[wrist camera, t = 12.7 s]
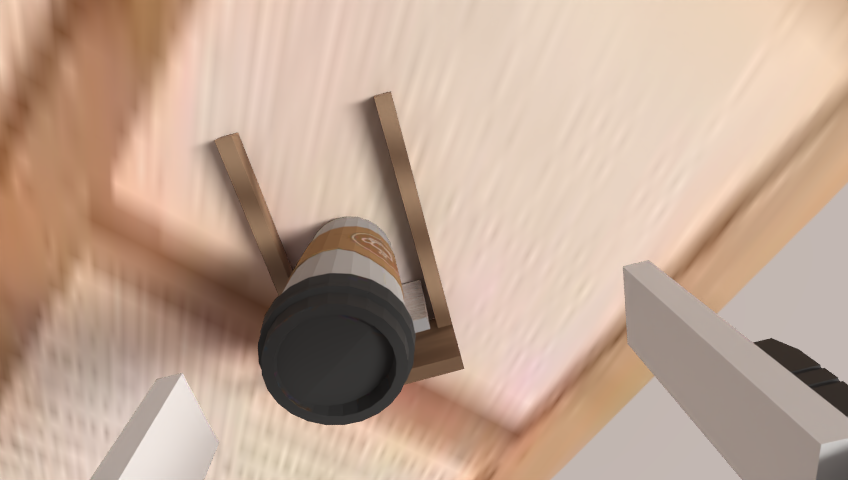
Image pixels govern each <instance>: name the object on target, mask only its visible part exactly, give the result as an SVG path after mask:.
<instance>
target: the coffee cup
mask: <svg viewBox="0 0 848 480" xmlns="http://www.w3.org/2000/svg"><path fill="white" fill-rule="evenodd" d="M415 338H416V334H415V330H414V325H413V321H412V318H411V316H410V314H409V312H408V311H407V309H406V307H405V303H404V293H403V289H402V284H401V280H400V276H399V272H398V268H397V264H396V260H395V256H394V254H393V252H392V248H391V244H390V241H389V239H388V238H387V236H386V234H385V233H384V232H383V231H382V230H381V229H380V228H379V227H378V226H377V225H375V224H374V223H372V222H370V221H369V220H366V219H362V218H359V217H343V218H338V219H335V220H333V221H331V222H329V223H327V224H325V225H324V226H323V227H322V228H321V229H320V230H319V231H318V232H317V234H316V235H315V237H314V238H313V240H312V242H311V243H310V244H309V245H308V247H307V249H306V250H305V252H304V253H303V255H302V257H301V258H300V260H299V262H298V263H297V265H296V267H295V269H294V270H293V272H292V274H291V275H290V277H289V279H288V281H287V285H286V287H285V289H284V291H283V292H282V294H281V295H280V296H278V297H277V298H276V299H275V300H274V302H273V304H272V305H271V307H270V308H269V310H268V311H267V313H266V314H265V318H264V321H263V325H262V329H261V335H260V339H259V342H258V356H259V364H260V367H261V369H262V376H263V379H264V381H265V384H266V387H267V389H268V391H269V392H270V394H271V395H272V396H273V397H274V399H275V400H276V401H277V403H278V404H280V405H281V406H282V407H283V408H285V409H286V410H287V411H289V412H290V413H291V414H293V415H295V416H298V417H300V418H302V419H304V420H307V421H310V422H315V423H319V424H324V425H346V424H350V423H355V422H360V421H363V420H365V419H368V418H370V417H372V416H374V415H376V414H378V413H380V412H381V411H382V410H384V409H385V408H386V407H387V406H389V405H390V404H391V403H392V402H393V401H394V399H395V398H396V397H397V396H398V394H399V393H400V392H401V390H402V387H403V385H404V383H405V382H406V381H407V379H408V376H409V374H410V371H411V369H412V366H413V362H414V351H415Z"/></svg>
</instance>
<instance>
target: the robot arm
mask: <svg viewBox="0 0 848 480" xmlns="http://www.w3.org/2000/svg"><path fill="white" fill-rule="evenodd" d="M623 276H624V292H625V308H626V324H627V340H628V345H629V346H630V347H631V348H632V349H633V351H634V352H635V353H636V354H637V355H638V357H639V358H640V359H641V360H642V361H643V363H644V364H645V365H646V366H647V367H648V368H649V370H650V371H651V372H652V373H653V374H654V376H655V377H656V378H657V379H658V380H659V382H660V383H661V384H662V385H663V386H664V388H665V389H666V390H667V391H668V392H669V393H670V395H671V396H672V397H673V398H674V399H675V401H676V402H677V403H678V404H679V405H680V407H681V408H682V409H683V410H684V411H685V413H686V414H687V415H688V416H689V417H690V418H691V420H692V421H693V422H694V423H695V424H696V426H697V427H698V428H699V429H700V430H701V432H702V433H703V434H704V435H705V436H706V437H707V439H708V440H709V441H710V442H711V443H712V444H713V446H714V447H715V448H716V449H717V451H718V452H719V453H720V454H721V455H722V457H724V459H725V460H726V461H727V463H728V464H729V465H730V466H731V467H732V468H733V470H734V471H735V472H736V473H737V474H738V476H739V477H740V478H741V479H742V480H848V385H847V384H846V383H845V382H843V381H842V382H840V381H839V380H838V377H836V376H835V375H833V374H832V373H831V372H829V371H828V370H827V369H825V368H821V367H820V364H818V363H817V362H815V361H814V360H813V359H811V358H810V357H808V356H807V355H806V354H804V353H803V352H802V351H800V350H799V349H796V348H794V347H791V346H789V345H787V344H784V343H782V342H779V341H777V340H774V339H772V338H770V339H766V340H762V341H758V342H754V343H753V342H752V341H750V340H749V339H748V338H746V337H745V336H744V335H742V334H741V333H740V332H739V331H737V330H736V329H735V328H734V327H733V326H731V325H730V324H729V323H727V322H726V321H725V320H723V319H722V318H721V317H720V316H719V315H717V314H716V313H715V312H714V311H712V310H711V309H710V308H708V307H707V306H706V305H705V304H703V303H702V302H701V301H700V300H698V299H697V298H696V297H695V296H693V295H692V294H691V293H689V292H688V291H687V290H686V289H684V288H683V287H682V286H681V285H679V284H678V283H677V282H676V281H674V280H673V279H672V278H670V277H669V276H668V275H667V274H665V273H664V272H663V271H662V270H660V269H659V268H658V267H657V266H655V265H654V264H653V263H651V262H650V261H649V260H648V261H644V262H639V263H635V264H631V265H627V266H623ZM218 444H219V441H218V439H217V437H216V436H215V434H214V432H213V430H212V428H211V426H210V424H209V422H208V420H207V419H206V417H205V415H204V413H203V411H202V409H201V407H200V405H199V403H198V401H197V400H196V398H195V396H194V394H193V392H192V390H191V388H190V386H189V384H188V383H187V381H186V379H185V377H184V375H183V373H180V374H176V375H172V376H168V377H164V378H160V379H157V380H156V381H155V383H154V384H153V386H152V387H151V389H150V390H149V392H148V393H147V395H146V396H145V398H144V399H143V401H142V402H141V404H140V405H139V407H138V408H137V410H136V411H135V413H134V414H133V416H132V417H131V419H130V420H129V422H128V423H127V425H126V426H125V428H124V429H123V431H122V432H121V434H120V435H119V437H118V438H117V440H116V441H115V443H114V444H113V446H112V447H111V449H110V450H109V452H108V453H107V455H106V456H105V458H104V459H103V461H102V462H101V464H100V465H99V467H98V468H97V470H96V471H95V473H94V474H93V476H92V477H91V479H90V480H204V479H205V476H206V474H207V471H208V469H209V466H210V464H211V461H212V459H213V456H214V454H215V451H216V449H217V446H218Z"/></svg>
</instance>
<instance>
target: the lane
mask: <svg viewBox="0 0 848 480" xmlns="http://www.w3.org/2000/svg"><path fill="white" fill-rule="evenodd" d="M374 100H375V103H376V107H377V110H378V114H379V118H380V121H381V125H382V128H383V132H384V136H385V139H386V143H387V146H388V150H389V154H390V157H391V161H392V164H393V168H394V171H395V175H396V179H397V182H398V186H399V189H400V193H401V197H402V200H403V204H404V207H405V211H406V215H407V218H408V222H409V225H410V229H411V233H412V236H413V240H414V243H415V247H416V251H417V254H418V258H419V261H420V265H421V268H422V272H423V276H424V279H425V283H426V286H427V290H428V294H429V297H430V301H431V304H432V308H433V312H434V315H435V318H434V319H431V320H429V324H430V329H428V330H424V331H421V332H417V333H415V334H416V338H415V351H414V362H413V366H412V369H411V371H410V374H409V376H408V379H407V381H406V382H405V383H404V384H408V383H412V382H416V381H420V380H423V379H427V378H431V377H435V376H439V375H442V374H446V373H450V372H454V371H458V370H461V369H464V366H463V362H462V359H461V355H460V351H459V348H458V344H457V340H456V336H455V333H454V329H453V325H452V322H451V318H450V314H449V310H448V307H447V303H446V299H445V295H444V291H443V288H442V284H441V280H440V276H439V273H438V269H437V265H436V261H435V257H434V254H433V250H432V246H431V242H430V238H429V235H428V231H427V227H426V223H425V219H424V216H423V212H422V208H421V204H420V201H419V197H418V193H417V189H416V185H415V182H414V178H413V174H412V170H411V166H410V163H409V159H408V155H407V151H406V148H405V144H404V140H403V136H402V132H401V129H400V125H399V121H398V117H397V113H396V110H395V106H394V102H393V98H392V95H391V91H390V92H387V93H383V94H379V95H375V96H374ZM214 141H215V143H216V146H217V148H218V151H219V153H220V155H221V158H222V160H223V163H224V165H225V167H226V170H227V172H228V175H229V177H230V179H231V182H232V184H233V187H234V189H235V191H236V194H237V196H238V199H239V201H240V203H241V206H242V208H243V211H244V213H245V215H246V218H247V220H248V223H249V225H250V227H251V230H252V232H253V235H254V237H255V239H256V242H257V244H258V247H259V249H260V252H261V254H262V256H263V259H264V261H265V264H266V266H267V268H268V271H269V273H270V276H271V278H272V280H273V283H274V285H275V288H276V290H277V292H278V295H279V296H280V295H281V294H282V292H283V291H284V289H285V287H286V285H287V281H288V279H289V277H290V275H291V274H292V272H293V271H292V268H291V266H290V263H289V261H288V258H287V255H286V253H285V250H284V248H283V245H282V243H281V240H280V238H279V235H278V233H277V230H276V228H275V225H274V223H273V220H272V217H271V215H270V212H269V210H268V207H267V205H266V202H265V200H264V197H263V195H262V192H261V190H260V187H259V185H258V182H257V179H256V177H255V174H254V172H253V169H252V167H251V164H250V162H249V159H248V157H247V154H246V152H245V149H244V147H243V144H242V141H241V139H240V136H239V134H238V133H234V134H230V135H226V136H223V137H220V138H218V139H216V140H214Z"/></svg>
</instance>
